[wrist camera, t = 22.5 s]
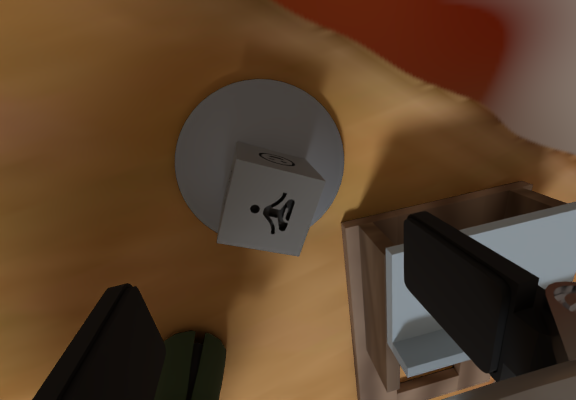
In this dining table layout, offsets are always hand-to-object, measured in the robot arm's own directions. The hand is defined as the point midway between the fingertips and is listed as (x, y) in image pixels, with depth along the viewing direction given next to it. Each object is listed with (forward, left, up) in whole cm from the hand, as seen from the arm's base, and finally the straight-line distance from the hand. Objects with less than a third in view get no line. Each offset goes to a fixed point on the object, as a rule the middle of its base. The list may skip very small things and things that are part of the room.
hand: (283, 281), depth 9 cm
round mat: (0, +1, -12) cm, 12 cm away
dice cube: (0, 0, -11) cm, 11 cm away
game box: (+14, -19, -12) cm, 26 cm away
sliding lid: (+14, -9, -6) cm, 18 cm away
